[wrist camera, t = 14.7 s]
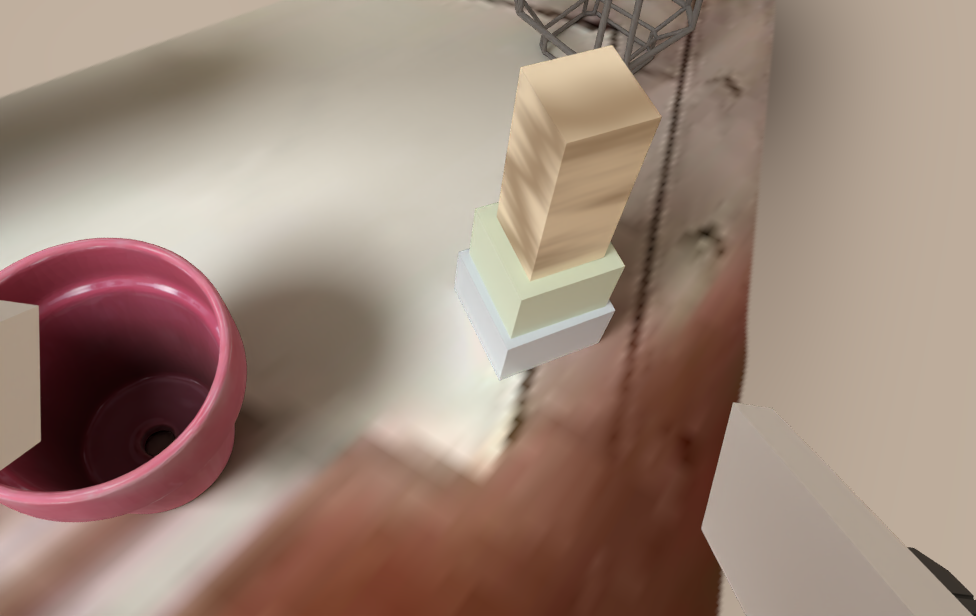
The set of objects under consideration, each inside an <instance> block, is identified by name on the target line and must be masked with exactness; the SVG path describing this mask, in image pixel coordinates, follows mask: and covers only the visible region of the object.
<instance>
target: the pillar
mask: <svg viewBox="0 0 976 616" xmlns="http://www.w3.org/2000/svg"><path fill="white" fill-rule="evenodd" d="M661 118H662V116H661V115H660V113H659V112H658V110H657V109H656V108H655V106H654V105H653V103H652V102H651V100H650V99H649V98H648V96H647V95H646V93H645V92H644V90H643V89H642V87H641V86H640V85H639V83H638V82H637V80H636V79H635V77H634V76H633V74H632V73H631V72H630V70H629V69H628V67H627V66H626V64H625V63H624V61H623V60H622V59H621V57H620V56H619V54H618V53H617V51H616V50H615V49H614V47H613V46H612V45H610V46H606V47H602V48H598V49H594V50H589V51H585V52H581V53H577V54H573V55H569V56H565V57H561V58H557V59H552V60H548V61H544V62H540V63H536V64H532V65H528V66H524V67H520V74H519V80H518V86H517V92H516V99H515V105H514V111H513V117H512V124H511V130H510V136H509V142H508V149H507V155H506V161H505V167H504V174H503V180H502V186H501V192H500V199H499V205H498V211H497V219H498V221H499V223H500V224H501V226H502V228H503V230H504V232H505V234H506V236H507V238H508V240H509V242H510V244H511V246H512V248H513V250H514V252H515V253H516V255H517V257H518V259H519V261H520V263H521V265H522V267H523V269H524V271H525V273H526V275H527V277H528V279H529V281H534V280H537V279H540V278H543V277H546V276H549V275H552V274H555V273H558V272H561V271H564V270H567V269H570V268H573V267H576V266H579V265H582V264H585V263H588V262H591V261H594V260H597V259H600V258H603V257H604V256H605V253H606V251H607V249H608V246H609V244H610V241H611V239H612V236H613V234H614V232H615V229H616V227H617V224H618V222H619V220H620V217H621V215H622V212H623V210H624V207H625V205H626V203H627V200H628V198H629V195H630V193H631V190H632V188H633V186H634V183H635V181H636V178H637V176H638V174H639V171H640V169H641V166H642V164H643V161H644V159H645V157H646V154H647V152H648V149H649V147H650V144H651V142H652V140H653V137H654V135H655V132H656V130H657V128H658V125H659V123H660V120H661Z"/></svg>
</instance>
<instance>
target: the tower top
mask: <svg viewBox="0 0 976 616" xmlns="http://www.w3.org/2000/svg"><path fill="white" fill-rule="evenodd" d="M498 205H499V202H497V203H494V204H490V205H487V206H483V207H480V208H476V209H475V214H474V221H473V229H472V236H471V244H470V251H469V254H470V256H471V258H472V260H473V262H474V264H475V266H476V268H477V270H478V272H479V274H480V277H481V279H482V281H483V283H484V285H485V287H486V289H487V291H488V293H489V295H490V297H491V299H492V301H493V303H494V305H495V307H496V310H497V312H498V314H499V316H500V318H501V320H502V322H503V324H504V326H505V328H506V330H507V332H508V334H509V336H510V338H511V339H512V338H515V337H518V336H521V335H524V334H527V333H530V332H533V331H535V330H538V329H541V328H544V327H547V326H550V325H553V324H556V323H559V322H562V321H565V320H567V319H570V318H573V317H576V316H579V315H582V314H585V313H588V312H591V311H594V310H597V309H599V308H602V307H605V306H606V304H607V302H608V300H609V298H610V296H611V294H612V292H613V290H614V288H615V286H616V284H617V282H618V280H619V278H620V276H621V274H622V272H623V269H624V267H625V265H624V263H623V262H622V260H621V258H620V257H619V255H618V253H617V252H616V250H615V248H614V247H613V245H612V243H611V242H610V244H609V246H608V249H607V251H606V253H605V256H604V257H603V258H600V259H597V260H594V261H591V262H588V263H585V264H582V265H579V266H576V267H573V268H570V269H567V270H564V271H561V272H558V273H555V274H552V275H549V276H546V277H543V278H540V279H537V280H534V281H529V279H528V277H527V275H526V273H525V271H524V269H523V267H522V265H521V263H520V261H519V259H518V257H517V255H516V253H515V252H514V250H513V248H512V246H511V244H510V242H509V240H508V238H507V236H506V234H505V232H504V230H503V228H502V226H501V224H500V223H499V221H498V219H497V211H498Z"/></svg>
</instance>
